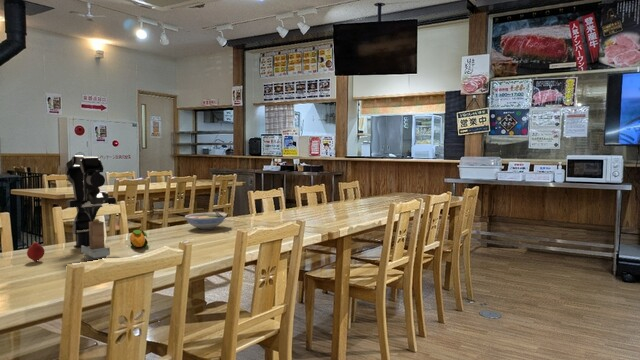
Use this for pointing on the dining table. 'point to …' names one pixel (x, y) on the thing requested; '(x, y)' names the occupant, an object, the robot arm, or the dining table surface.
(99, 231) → the brown rectangular block
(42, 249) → the red oval piece
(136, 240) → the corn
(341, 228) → the dining table surface
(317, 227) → the dining table surface
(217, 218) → the ramen bowl
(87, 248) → the grey piece
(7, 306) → the dining table surface
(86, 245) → the robot arm
